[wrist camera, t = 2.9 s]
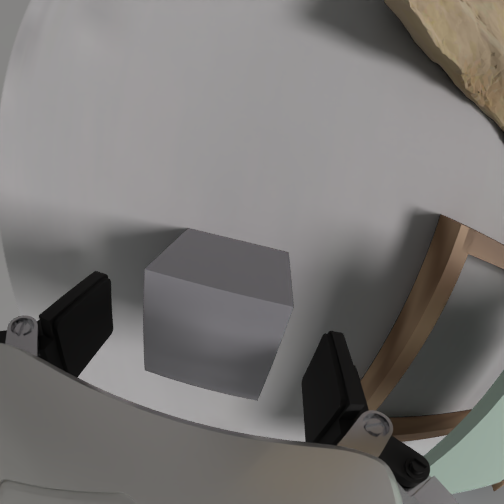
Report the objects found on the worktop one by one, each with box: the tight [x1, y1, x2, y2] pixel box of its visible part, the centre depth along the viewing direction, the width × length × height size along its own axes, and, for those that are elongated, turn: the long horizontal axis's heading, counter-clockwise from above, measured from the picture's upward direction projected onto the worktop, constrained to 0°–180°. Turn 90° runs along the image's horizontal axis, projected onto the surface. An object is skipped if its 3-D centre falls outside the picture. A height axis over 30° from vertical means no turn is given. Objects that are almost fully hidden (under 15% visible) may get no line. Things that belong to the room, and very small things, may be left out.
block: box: [143, 228, 294, 400], centre depth 12 cm, size 5×5×5 cm
